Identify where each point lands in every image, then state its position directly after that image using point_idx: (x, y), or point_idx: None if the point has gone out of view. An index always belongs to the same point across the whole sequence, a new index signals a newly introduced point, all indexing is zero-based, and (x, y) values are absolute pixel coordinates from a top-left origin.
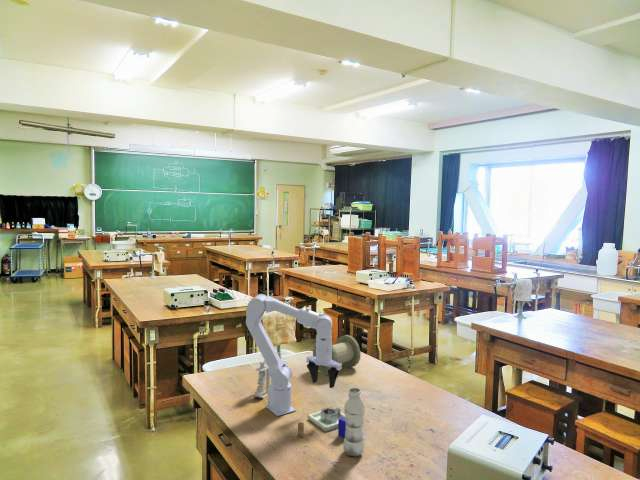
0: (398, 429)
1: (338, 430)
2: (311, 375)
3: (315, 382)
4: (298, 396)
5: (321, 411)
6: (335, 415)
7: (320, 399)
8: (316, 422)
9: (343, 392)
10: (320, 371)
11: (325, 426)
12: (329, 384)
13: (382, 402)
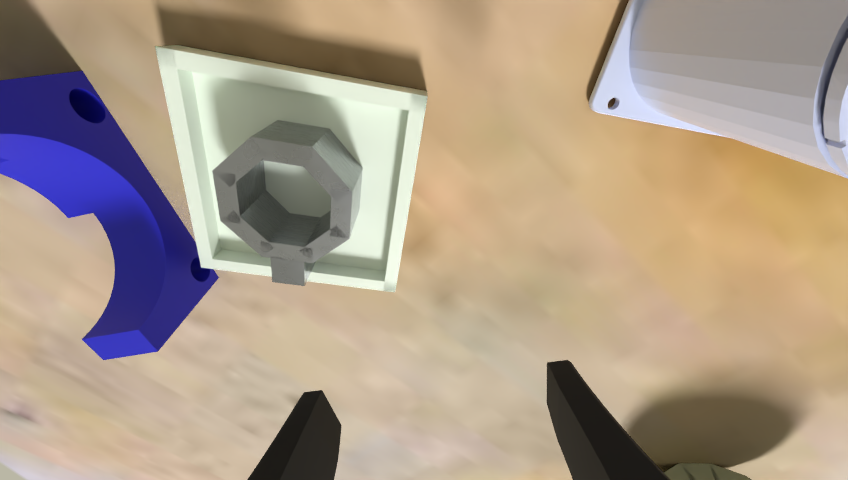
0: (61, 350)
1: (39, 76)
2: (631, 455)
3: (547, 381)
4: (693, 265)
5: (321, 164)
6: (223, 205)
7: (551, 318)
8: (307, 71)
9: (506, 416)
10: (720, 470)
11: (173, 55)
12: (300, 428)
13: None
